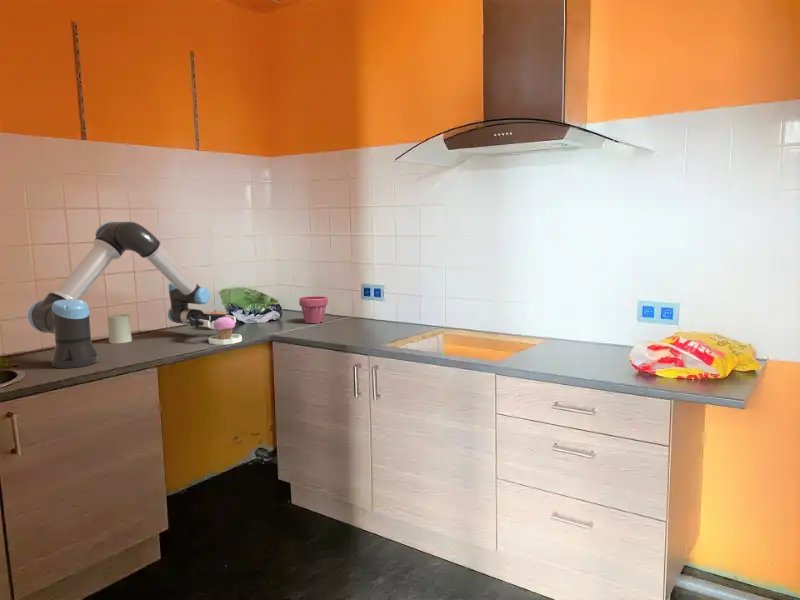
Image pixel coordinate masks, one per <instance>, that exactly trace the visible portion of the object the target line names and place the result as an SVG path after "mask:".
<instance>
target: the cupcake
mask: <svg viewBox="0 0 800 600" xmlns="http://www.w3.org/2000/svg"><path fill="white" fill-rule="evenodd" d="M235 327H236V323H235V322H234V321H233V320H232V319H231V318H230V317H221V318H218V319H217V320H216V321H215V322H214V328H215V329H216V331H217V335H218V337H219V339H220V340H224V339H230V338H231V334H233V330H234V328H235Z"/></svg>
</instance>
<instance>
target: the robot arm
mask: <svg viewBox="0 0 800 600" xmlns="http://www.w3.org/2000/svg"><path fill="white" fill-rule="evenodd" d="M92 243H93V247H92V249H90V251H89V252H88V253H87V254H86V255H85V256H84V258H83V259H82V260H81V262H80V263H79V264H78V265H77V266H76V268H75V269H74V270H73V271H72V273H70V274H69V275H68V277H67V278H66V279H65V281H64V282H63V283H62V284H61V285H60V286H59V288H57V290H56V291H51V292H49V293H48V294H47V295H46V296H45V297H44V299H43V300H40V301H39V300H38V301H37V302H35V303H34V304H32V305H31V306H30V308H29V310H28V313H27V318H28V322H29V325H31V327H32V328H33V329H34V330H36V331H39V332H42V333H45V334H46V333H47V334H48V333H49V334H54V341H55V346H54V349H53V353H52V357H51V366H52V367H53V368H54V369H55V368H56V369H69V368H81V367H86V366H90V365H94V364H97V363H98V361H99V356H98V353H97V351H96V348H95V347H94V344H93V341H92V337H91V336H92V335H91V322H90V309H89V305H88V303H87V302H86V301H83V300H82V298H84V296H85V295H86V293H87V292H88V291H89V290H90V289H91V287H93V285H94V284H95V283H96V281H97V280H98V279H99V278H100V276H101V275H102V274H103V273H104V271H106V269H107V267H109V265H110V264H112V262H113V260H118V259H120V257H121V256H122V255H123V254H124V253H125V252H126V251H131V252H134V253H136V254H138V255H139V256H140V257H141V258H143V259H146V260H147V261H149V263H151V264H152V266H154V267H155V268H156V269H157V270H158V271H159V272H160V273H161V274H162V275H163V276H164V277H165V278H166V279H167V280H168V281H169V282H170V283H168V294H169V303H170V308H169V309H168V312H167V317H168V320H169V321H171V322H172V323H176V324H180V325H181V324H182V325H187V326H189V327H195V328H197V329H198V328H199V327H204V328H209V327H210V322H212V321H216V320H217V319H218V318H221V317H230V318H231V319H232V320H233V321H234V322H235V324H236V323H237V318H236V317H237V316H234V315H231V314H229V313H228V312H227V314H204V313H205V312H204V311H202V309H201V310H200V309H197V308H190V307H189V304H192V305H206V304H208V303H209V301H210V300H211V292H210V290H209V289H208V288H205V287H201V286H200V285H199V284H198V283H197V282H196V281H195V280H194V279H193V278H192V277H191V276H190V275H189V274H188V273H187V272H186V271H185V270H184V269H183V267H181V266H180V265H179V264H178V263H177V261H176V260H175V259H173V257H172V256H171V255H170V254H169V253H168V252H167V251H166V250H165V249H164V248H163V247H162V246H161V241H160V240H159V239H158V238H157V237H156V236H155V235H154V234H153V233H152V232H150V231H149V230H148V229H147V228H145V227H144V226H142V224H139V223H137V222H135V221H109V222H105V223H102V224H101V225H100V226H98V228H97V229H96V231H95V238H94V240H93V241H92ZM210 318H211V321H209V319H210Z"/></svg>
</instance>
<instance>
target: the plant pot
mask: <svg viewBox="0 0 800 600" xmlns="http://www.w3.org/2000/svg"><path fill="white" fill-rule="evenodd" d="M298 299H299V302H298V303H299V306H300V307H301V311H302V316H303V319H304V323H305V324H308V323H318V324H321V323H320V322H323V323H324V320H325V319H324V318H325V316H326V315H325V314H326V308H327V305H328V303H329V302H328V301H329V300H328V297H327V296H320V295H316V296H315V295H313V296H302V297H299V298H298Z"/></svg>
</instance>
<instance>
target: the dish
mask: <svg viewBox="0 0 800 600" xmlns="http://www.w3.org/2000/svg"><path fill="white" fill-rule="evenodd" d="M242 341H243V337H242V335H241V334H240V333H239V334H237V333H232V334H231V338H230V339H224V340H220V339H219V337H218V334H215V335H210V336H209V337H208V344H209V345H210V344H211V345H217V346H218V345H220V346H221V345H223V346H224V345H233V344H236V343H240V342H242Z"/></svg>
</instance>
